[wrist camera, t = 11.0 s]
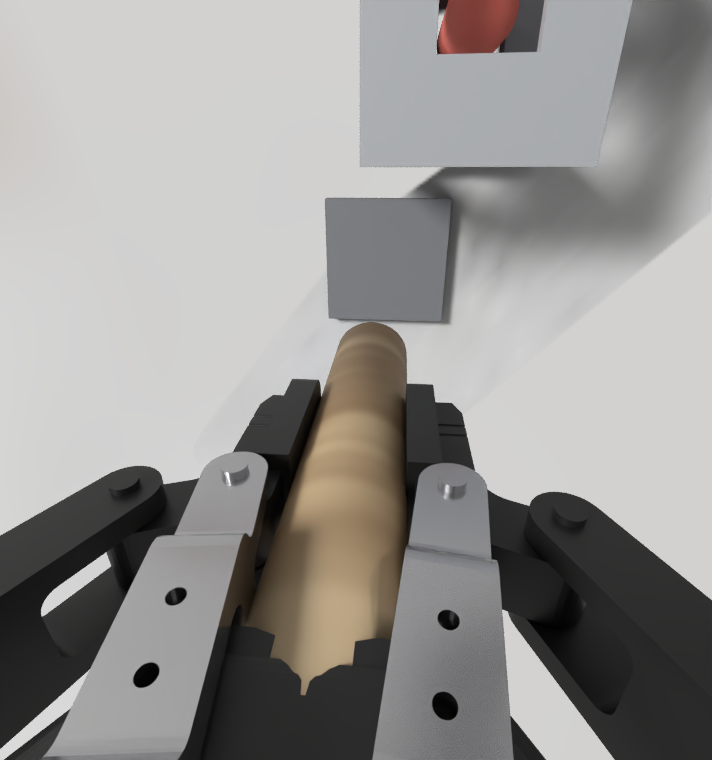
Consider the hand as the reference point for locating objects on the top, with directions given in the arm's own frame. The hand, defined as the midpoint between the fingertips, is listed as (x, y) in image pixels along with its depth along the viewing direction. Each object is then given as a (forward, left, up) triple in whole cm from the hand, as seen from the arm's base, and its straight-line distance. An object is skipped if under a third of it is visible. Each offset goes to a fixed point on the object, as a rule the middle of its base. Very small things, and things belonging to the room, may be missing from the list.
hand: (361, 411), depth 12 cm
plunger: (-12, +4, -20) cm, 24 cm away
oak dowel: (0, 0, -4) cm, 4 cm away
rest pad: (0, 0, -20) cm, 20 cm away
